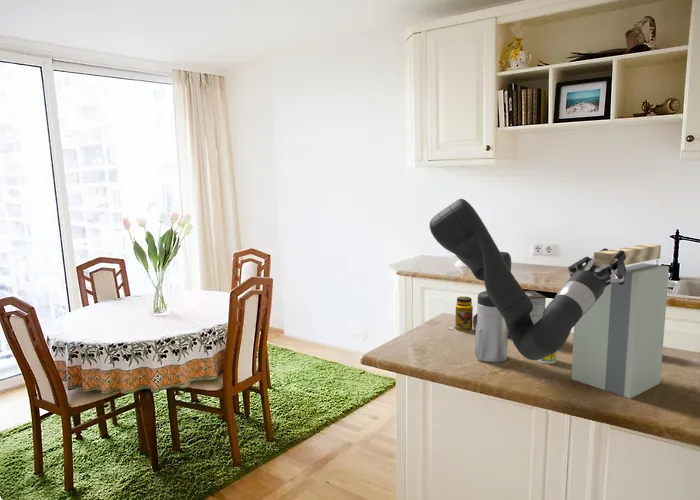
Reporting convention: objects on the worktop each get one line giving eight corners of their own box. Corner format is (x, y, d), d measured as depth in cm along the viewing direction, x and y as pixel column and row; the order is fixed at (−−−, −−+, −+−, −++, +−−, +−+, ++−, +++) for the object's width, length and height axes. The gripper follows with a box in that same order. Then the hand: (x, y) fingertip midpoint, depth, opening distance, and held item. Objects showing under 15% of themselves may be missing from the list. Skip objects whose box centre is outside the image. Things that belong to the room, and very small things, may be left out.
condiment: (464, 333, 186) (464, 301, 184) (446, 328, 193) (447, 296, 191) (477, 330, 190) (478, 298, 188) (460, 324, 197) (461, 293, 195)
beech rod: (607, 268, 123) (608, 254, 122) (593, 266, 125) (594, 252, 125) (660, 258, 137) (661, 245, 137) (646, 256, 140) (647, 243, 140)
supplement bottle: (555, 358, 160) (556, 328, 159) (556, 364, 155) (557, 333, 153) (536, 357, 162) (537, 327, 160) (537, 363, 157) (538, 332, 155)
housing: (629, 398, 131) (638, 273, 127) (571, 378, 144) (577, 264, 140) (660, 383, 140) (669, 266, 136) (602, 366, 153) (608, 258, 149)
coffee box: (514, 335, 183) (515, 291, 180) (531, 334, 184) (532, 290, 181) (526, 344, 174) (528, 297, 171) (544, 343, 175) (546, 296, 172)
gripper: (604, 287, 112) (641, 242, 120) (546, 277, 124) (583, 236, 131) (612, 313, 116) (647, 268, 123) (554, 301, 127) (590, 260, 134)
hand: (614, 252), depth 127 cm, fingers closed on beech rod, 3 cm apart
